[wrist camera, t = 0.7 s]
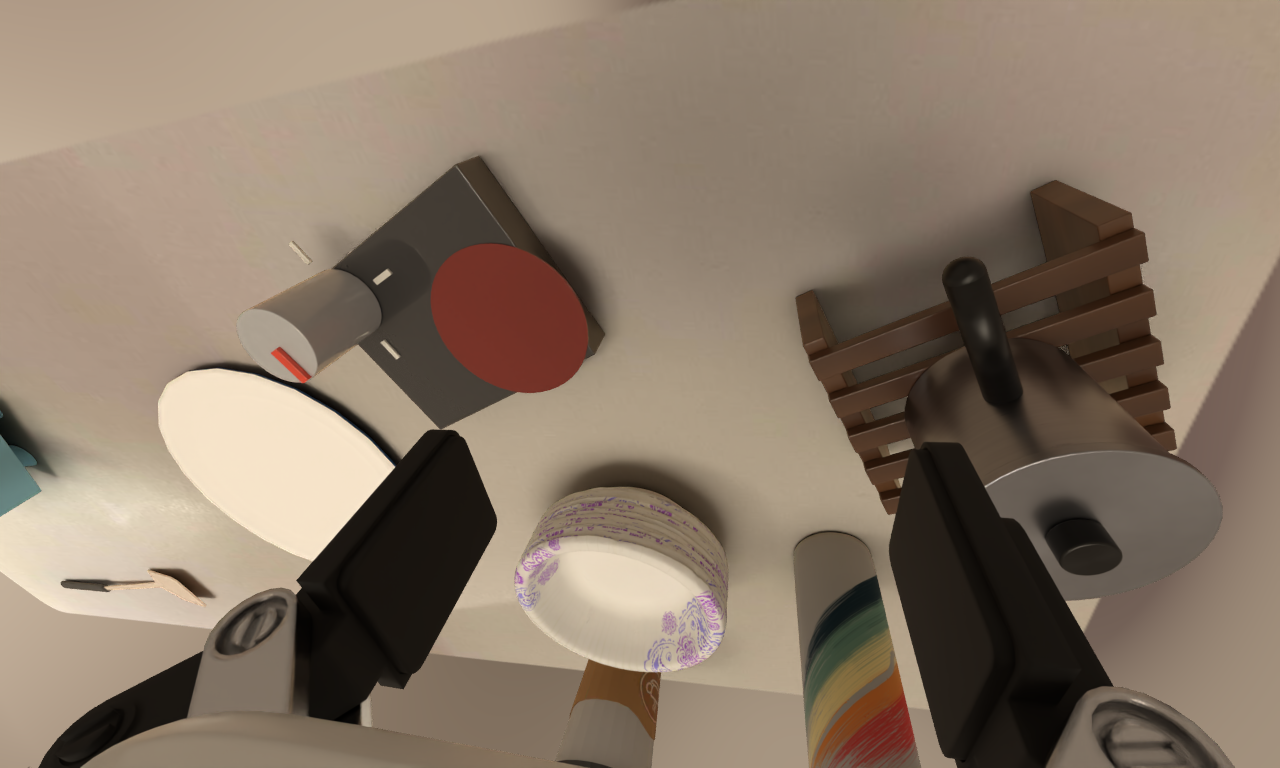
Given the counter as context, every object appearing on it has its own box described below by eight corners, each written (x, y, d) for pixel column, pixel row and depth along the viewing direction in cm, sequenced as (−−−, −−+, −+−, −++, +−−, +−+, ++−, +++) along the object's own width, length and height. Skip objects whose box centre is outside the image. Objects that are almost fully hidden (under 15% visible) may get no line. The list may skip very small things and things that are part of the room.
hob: (287, 261, 32) (254, 276, 30) (449, 113, 25) (420, 119, 23) (438, 419, 38) (418, 441, 36) (605, 334, 31) (594, 355, 28)
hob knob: (300, 289, 30) (215, 333, 25) (340, 255, 28) (256, 297, 23) (355, 345, 32) (285, 396, 27) (396, 317, 30) (328, 367, 25)
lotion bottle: (869, 579, 38) (953, 966, 22) (793, 576, 40) (820, 936, 24) (873, 531, 35) (974, 936, 19) (791, 528, 37) (820, 903, 21)
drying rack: (794, 297, 27) (803, 351, 22) (1055, 179, 22) (1143, 217, 17) (870, 449, 32) (891, 522, 27) (1101, 383, 26) (1179, 459, 21)
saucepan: (925, 481, 25) (988, 639, 18) (831, 271, 20) (869, 383, 13) (1102, 437, 22) (1257, 609, 15) (1041, 174, 17) (1231, 257, 10)
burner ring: (399, 292, 29) (398, 293, 29) (516, 208, 25) (515, 209, 24) (504, 411, 32) (503, 412, 32) (620, 356, 28) (620, 357, 28)
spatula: (217, 597, 65) (207, 607, 64) (84, 595, 74) (73, 603, 72) (184, 568, 62) (172, 578, 61) (49, 569, 71) (36, 578, 69)
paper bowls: (537, 446, 37) (492, 529, 31) (740, 471, 35) (736, 567, 28) (559, 568, 46) (527, 653, 39) (722, 596, 43) (717, 691, 37)
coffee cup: (685, 652, 50) (662, 846, 38) (612, 653, 53) (569, 834, 41) (655, 602, 46) (619, 802, 34) (579, 607, 49) (520, 791, 37)
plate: (221, 524, 53) (211, 533, 52) (119, 328, 39) (102, 335, 38) (436, 587, 52) (430, 598, 51) (415, 408, 38) (405, 418, 37)
